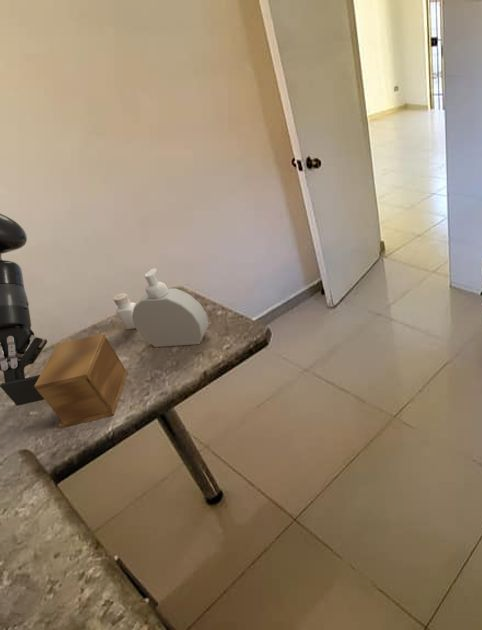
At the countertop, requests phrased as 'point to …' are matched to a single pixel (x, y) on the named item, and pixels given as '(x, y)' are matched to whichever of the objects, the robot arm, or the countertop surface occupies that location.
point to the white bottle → (125, 310)
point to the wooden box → (82, 380)
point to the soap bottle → (169, 315)
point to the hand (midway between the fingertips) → (16, 387)
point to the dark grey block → (22, 390)
